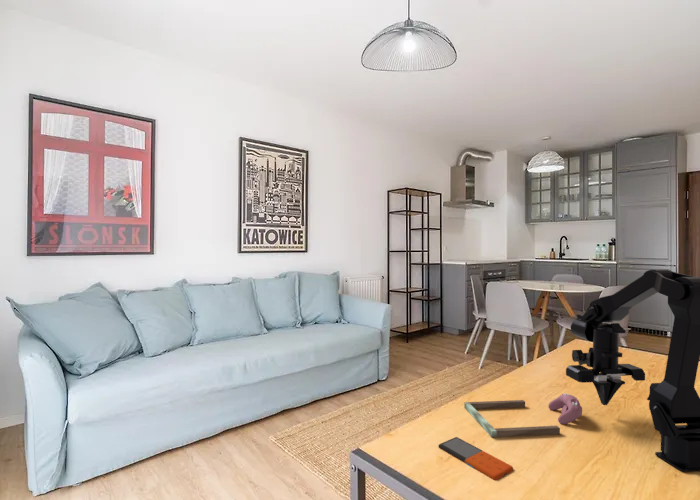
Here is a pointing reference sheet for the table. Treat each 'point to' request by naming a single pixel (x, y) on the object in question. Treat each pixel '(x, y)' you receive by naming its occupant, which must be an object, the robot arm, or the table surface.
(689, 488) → the table surface
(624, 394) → the table surface
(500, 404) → the u-shaped rail frame
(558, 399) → the video game controller
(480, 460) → the two-tone rubber eraser
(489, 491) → the table surface
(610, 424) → the table surface
